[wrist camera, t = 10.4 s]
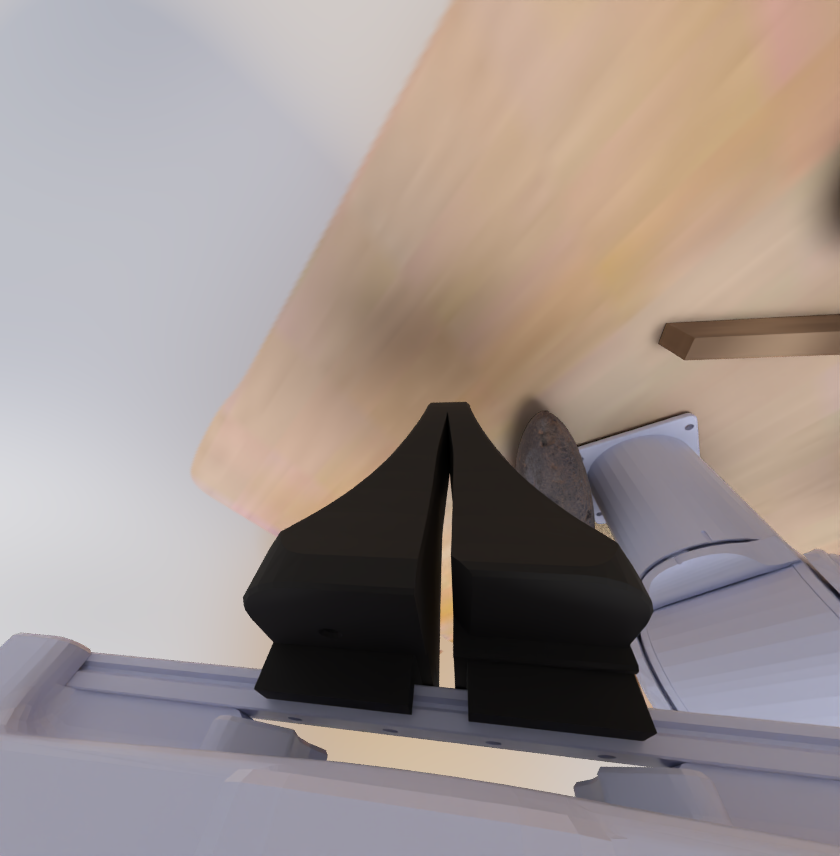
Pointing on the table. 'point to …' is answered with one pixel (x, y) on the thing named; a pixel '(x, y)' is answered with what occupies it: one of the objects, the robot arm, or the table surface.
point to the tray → (754, 337)
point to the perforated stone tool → (555, 466)
